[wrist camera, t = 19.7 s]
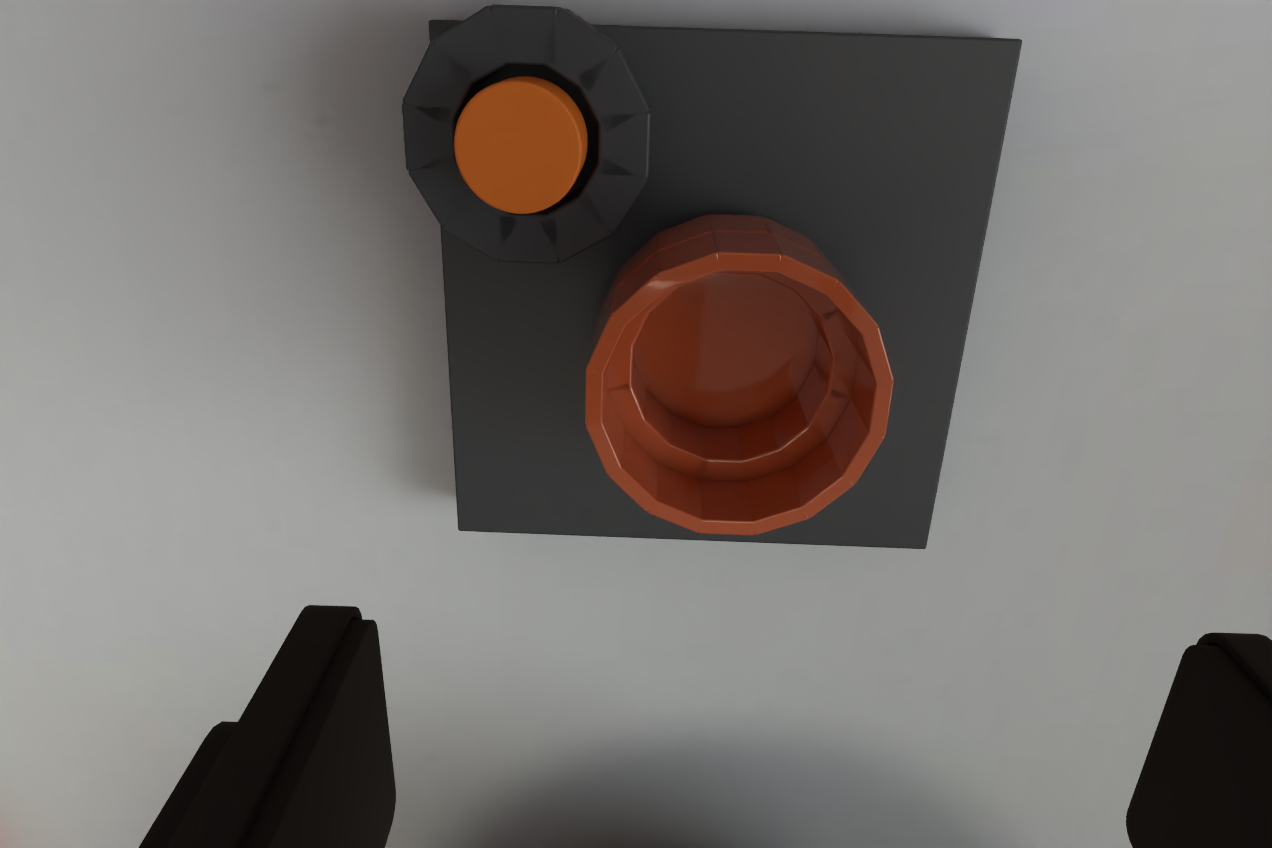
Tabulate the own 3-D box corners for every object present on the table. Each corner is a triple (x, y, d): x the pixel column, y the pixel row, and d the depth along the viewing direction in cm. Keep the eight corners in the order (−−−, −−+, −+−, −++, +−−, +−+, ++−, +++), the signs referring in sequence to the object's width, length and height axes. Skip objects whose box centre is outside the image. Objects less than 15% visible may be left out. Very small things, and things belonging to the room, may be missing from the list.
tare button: (466, 73, 21) (449, 78, 19) (588, 77, 20) (582, 82, 19) (471, 198, 22) (456, 212, 20) (587, 202, 22) (581, 216, 20)
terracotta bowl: (599, 205, 23) (586, 246, 19) (867, 215, 23) (914, 258, 19) (596, 446, 26) (584, 529, 21) (835, 455, 26) (869, 540, 21)
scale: (430, 3, 23) (393, 1, 20) (998, 22, 23) (1054, 23, 19) (459, 500, 29) (433, 560, 25) (910, 517, 29) (941, 580, 25)
